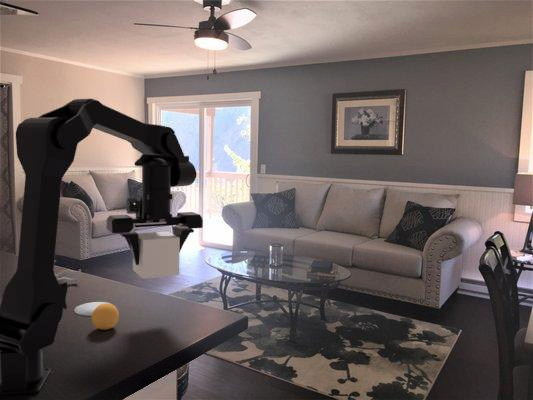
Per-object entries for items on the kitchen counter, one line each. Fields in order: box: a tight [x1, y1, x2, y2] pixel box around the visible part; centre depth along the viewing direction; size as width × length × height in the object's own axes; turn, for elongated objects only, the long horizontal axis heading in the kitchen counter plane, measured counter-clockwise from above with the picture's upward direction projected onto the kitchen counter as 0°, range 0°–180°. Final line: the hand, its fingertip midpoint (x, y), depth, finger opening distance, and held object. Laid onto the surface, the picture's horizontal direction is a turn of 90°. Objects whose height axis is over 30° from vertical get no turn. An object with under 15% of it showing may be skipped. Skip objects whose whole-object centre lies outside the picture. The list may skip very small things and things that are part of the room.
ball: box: [91, 302, 120, 331], centre depth 85 cm, size 5×5×5 cm
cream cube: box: [132, 231, 181, 280], centre depth 91 cm, size 8×8×8 cm
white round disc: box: [73, 301, 111, 317], centre depth 96 cm, size 8×8×1 cm
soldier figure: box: [54, 260, 82, 283], centre depth 111 cm, size 8×5×12 cm
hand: (155, 262), depth 91 cm, fingers closed on cream cube, 7 cm apart
